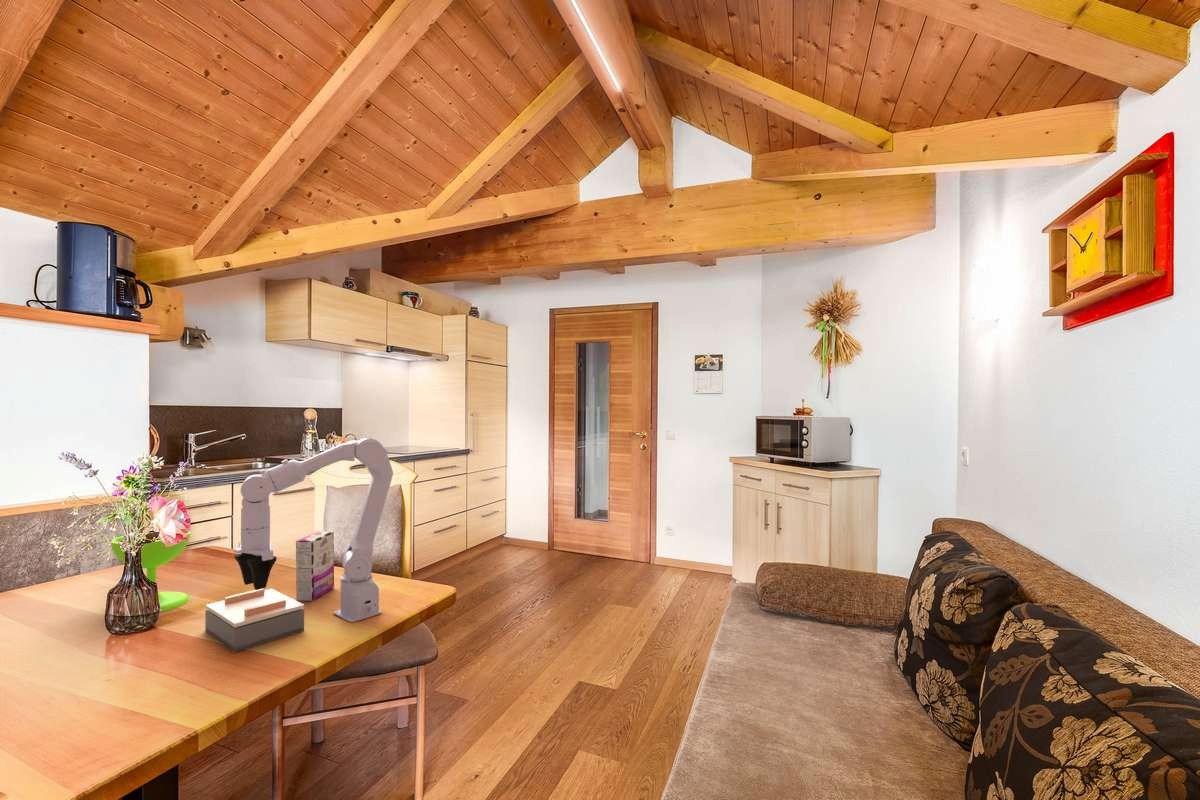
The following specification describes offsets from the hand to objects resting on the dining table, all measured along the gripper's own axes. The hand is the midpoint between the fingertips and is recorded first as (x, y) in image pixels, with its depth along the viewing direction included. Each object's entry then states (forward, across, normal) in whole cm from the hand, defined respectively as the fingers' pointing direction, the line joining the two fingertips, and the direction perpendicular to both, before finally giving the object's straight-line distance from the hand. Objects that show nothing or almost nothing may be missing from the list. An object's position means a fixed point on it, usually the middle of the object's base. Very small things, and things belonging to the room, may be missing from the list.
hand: (255, 586), depth 125 cm
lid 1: (+5, -4, 0) cm, 7 cm away
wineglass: (+11, -40, -10) cm, 43 cm away
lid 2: (+5, +5, 0) cm, 7 cm away
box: (+10, 0, 0) cm, 10 cm away
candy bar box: (+11, -14, +20) cm, 27 cm away
